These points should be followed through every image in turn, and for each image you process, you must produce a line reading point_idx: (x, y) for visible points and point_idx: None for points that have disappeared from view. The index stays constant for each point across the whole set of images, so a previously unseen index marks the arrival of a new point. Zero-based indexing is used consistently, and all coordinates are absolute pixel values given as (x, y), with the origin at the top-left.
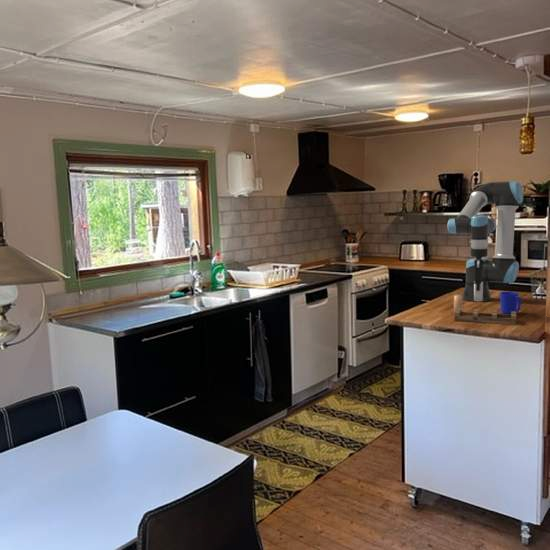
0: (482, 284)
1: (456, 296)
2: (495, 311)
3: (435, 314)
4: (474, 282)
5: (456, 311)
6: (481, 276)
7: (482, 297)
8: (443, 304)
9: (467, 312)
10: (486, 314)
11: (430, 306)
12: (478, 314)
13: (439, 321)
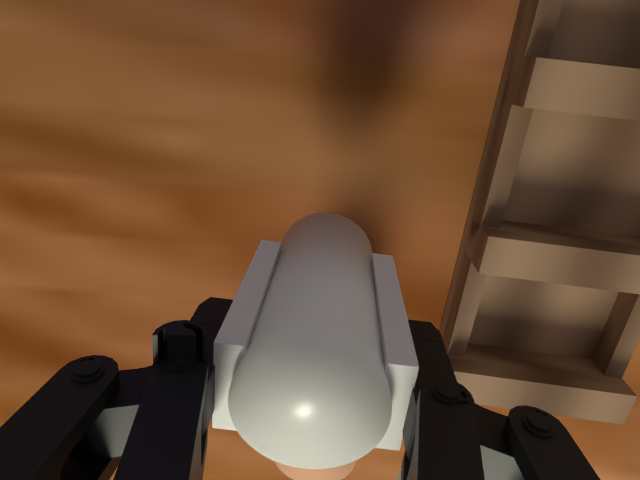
0: (351, 329)
1: (351, 469)
2: (590, 82)
3: (372, 463)
4: (334, 466)
5: (581, 410)
6: (192, 448)
7: (341, 230)
8: (8, 404)
9: (474, 312)
10: (515, 161)
11: (112, 474)
12: (549, 233)
13: (601, 456)
